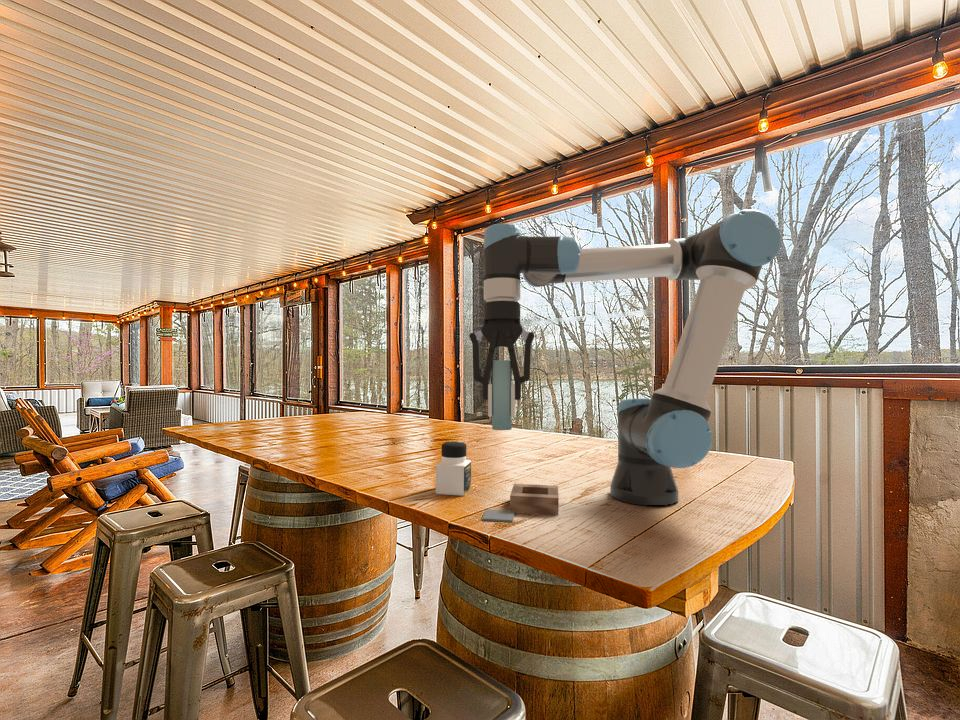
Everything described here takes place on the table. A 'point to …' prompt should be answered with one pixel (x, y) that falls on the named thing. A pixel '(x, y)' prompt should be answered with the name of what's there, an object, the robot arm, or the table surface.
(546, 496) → the socket block
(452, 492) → the medicine bottle
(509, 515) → the coaster
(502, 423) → the peg
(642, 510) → the table surface
